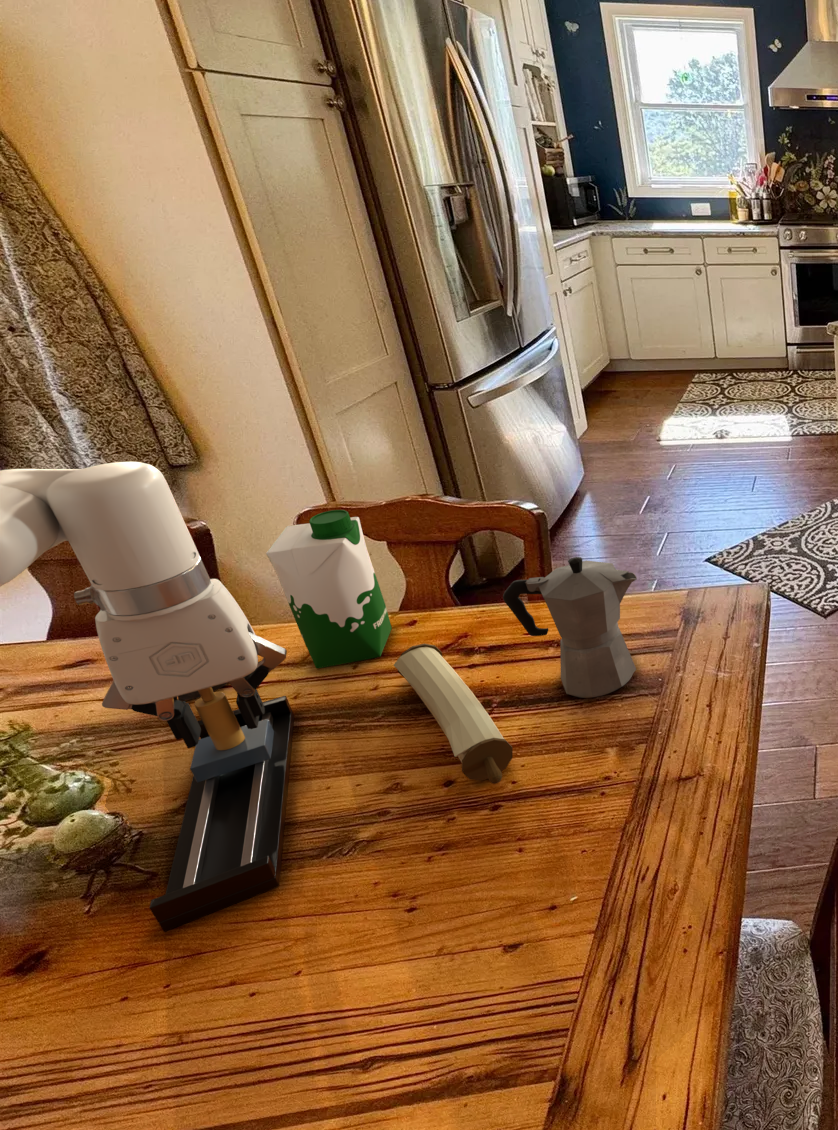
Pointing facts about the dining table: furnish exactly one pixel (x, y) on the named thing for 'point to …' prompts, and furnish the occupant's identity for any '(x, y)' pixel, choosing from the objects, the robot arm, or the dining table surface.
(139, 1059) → the dining table surface
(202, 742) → the sliding carriage
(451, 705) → the cream curved cylinder
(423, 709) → the dining table surface
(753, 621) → the dining table surface
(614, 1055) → the dining table surface
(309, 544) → the milk carton
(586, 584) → the coffeepot
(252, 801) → the rail
